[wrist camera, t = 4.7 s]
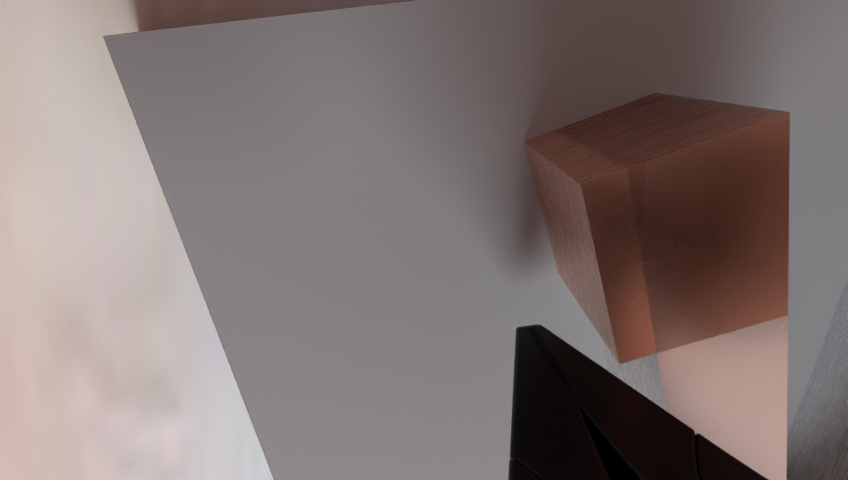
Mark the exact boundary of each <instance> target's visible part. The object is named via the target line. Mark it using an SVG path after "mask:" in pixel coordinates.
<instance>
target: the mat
mask: <svg viewBox="0 0 848 480" xmlns="http://www.w3.org/2000/svg"><path fill="white" fill-rule="evenodd" d="M103 37H104V40H105V42H106V45H107V47H108V50H109V53H110V55H111V58H112V60H113V63H114V66H115V68H116V71H117V73H118V76H119V79H120V81H121V84H122V86H123V89H124V92H125V94H126V97H127V99H128V102H129V105H130V107H131V110H132V112H133V115H134V118H135V120H136V123H137V125H138V128H139V130H140V133H141V136H142V138H143V141H144V143H145V146H146V149H147V151H148V154H149V156H150V159H151V162H152V164H153V167H154V169H155V172H156V175H157V177H158V180H159V182H160V185H161V188H162V190H163V193H164V195H165V198H166V201H167V203H168V206H169V208H170V211H171V214H172V216H173V219H174V221H175V224H176V227H177V229H178V232H179V234H180V237H181V240H182V242H183V245H184V247H185V250H186V252H187V255H188V258H189V260H190V263H191V265H192V268H193V271H194V273H195V276H196V278H197V281H198V284H199V286H200V289H201V291H202V294H203V297H204V299H205V302H206V304H207V307H208V310H209V312H210V315H211V317H212V320H213V323H214V325H215V328H216V330H217V333H218V336H219V338H220V341H221V343H222V346H223V349H224V351H225V354H226V356H227V359H228V362H229V364H230V367H231V369H232V372H233V375H234V377H235V380H236V382H237V385H238V387H239V390H240V393H241V395H242V398H243V400H244V403H245V406H246V408H247V411H248V413H249V416H250V419H251V421H252V424H253V426H254V429H255V432H256V434H257V437H258V439H259V442H260V445H261V447H262V450H263V452H264V455H265V458H266V460H267V463H268V465H269V468H270V471H271V473H272V476H273V478H274V480H508V473H509V461H510V437H511V417H512V396H513V376H514V355H515V335H516V328H517V327H521V326H528V325H535V324H540V325H542V326H544V327H545V328H547V329H548V330H550V331H551V332H552V333H554V334H555V335H557V336H558V337H560V338H561V339H563V340H564V341H565V342H567V343H568V344H570V345H571V346H573V347H574V348H576V349H577V350H579V351H580V352H581V353H583V354H584V355H586V356H587V357H589V358H590V359H592V360H593V361H595V362H596V363H597V364H599V365H600V366H602V367H603V368H605V369H606V370H608V366H607V361H606V357H605V353H604V349H603V344H602V340H601V336H600V335H599V333H598V332H597V330H596V329H595V327H594V326H593V324H592V323H591V321H590V320H589V318H588V317H587V315H586V314H585V312H584V311H583V309H582V308H581V306H580V305H579V303H578V302H577V301H576V299H575V298H574V296H573V295H572V293H571V292H570V290H569V289H568V287H567V286H566V284H565V283H564V281H563V280H562V278H561V277H560V275H559V274H558V270H557V267H556V263H555V259H554V255H553V251H552V248H551V244H550V240H549V236H548V233H547V229H546V225H545V221H544V218H543V214H542V210H541V206H540V202H539V199H538V195H537V191H536V187H535V184H534V180H533V176H532V172H531V169H530V165H529V161H528V157H527V153H526V150H525V146H524V142H523V141H526V140H529V139H531V138H534V137H537V136H540V135H542V134H545V133H548V132H550V131H553V130H556V129H559V128H561V127H564V126H567V125H569V124H572V123H575V122H578V121H580V120H583V119H586V118H588V117H591V116H594V115H596V114H599V113H602V112H605V111H607V110H610V109H613V108H615V107H618V106H621V105H624V104H626V103H629V102H632V101H634V100H637V99H640V98H643V97H645V96H648V95H651V94H653V93H661V94H668V95H675V96H682V97H689V98H696V99H703V100H710V101H717V102H724V103H731V104H738V105H745V106H752V107H759V108H766V109H773V110H780V111H787V112H790V164H789V270H788V376H787V436H788V434H789V431H790V428H791V426H792V423H793V421H794V418H795V415H796V413H797V410H798V408H799V405H800V402H801V400H802V397H803V394H804V392H805V389H806V387H807V384H808V381H809V379H810V376H811V374H812V371H813V368H814V366H815V363H816V360H817V358H818V355H819V353H820V350H821V347H822V345H823V342H824V340H825V337H826V334H827V332H828V329H829V327H830V324H831V321H832V319H833V316H834V313H835V311H836V308H837V306H838V303H839V300H840V298H841V295H842V293H843V290H844V287H845V285H846V282H847V279H848V0H413V1H404V2H395V3H386V4H378V5H369V6H360V7H352V8H343V9H334V10H325V11H317V12H308V13H299V14H291V15H282V16H273V17H264V18H256V19H247V20H238V21H230V22H221V23H212V24H203V25H195V26H186V27H177V28H169V29H160V30H151V31H142V32H134V33H125V34H116V35H107V36H103ZM608 371H609V370H608Z"/></svg>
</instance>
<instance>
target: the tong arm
mask: <svg viewBox="0 0 848 480" xmlns="http://www.w3.org/2000/svg"><path fill="white" fill-rule="evenodd" d="M523 142H524V146H525V150H526V153H527V157H528V161H529V165H530V169H531V172H532V176H533V180H534V184H535V187H536V191H537V195H538V199H539V202H540V206H541V210H542V214H543V218H544V221H545V225H546V229H547V233H548V236H549V240H550V244H551V248H552V251H553V255H554V259H555V263H556V267H557V270H558V274H559V275H560V277H561V278H562V280H563V281H564V283H565V284H566V286H567V287H568V289H569V290H570V292H571V293H572V295H573V296H574V298H575V299H576V301H577V302H578V303H579V305H580V306H581V308H582V309H583V311H584V312H585V314H586V315H587V317H588V318H589V320H590V321H591V323H592V324H593V326H594V327H595V329H596V330H597V332H598V333H599V335H600V336H601V340H602V344H603V349H604V353H605V357H606V361H607V366H608V370H609V372H611V373H612V374H613V375H615V376H616V377H618V378H619V379H621V380H622V381H624V382H625V383H627V384H628V385H629V386H631V387H632V388H634V389H635V390H637V391H638V392H640V393H641V394H643V395H644V396H645V397H647V398H648V399H650V400H651V401H653V402H654V403H656V404H657V405H658V406H660V407H661V408H663V409H664V410H666V411H667V412H669V413H670V414H672V415H673V416H674V417H676V418H677V419H679V420H680V421H682V422H683V423H685V424H686V425H688V426H689V427H690V428H692V429H693V430H694V431H695V434H697V433H699V434H701V435H702V436H704V437H705V438H707V439H708V440H710V441H711V442H713V443H714V444H715V445H717V446H718V447H720V448H721V449H723V450H724V451H726V452H727V453H729V454H730V455H732V456H733V457H735V458H736V459H738V460H739V461H741V462H742V463H744V464H745V465H747V466H748V467H750V468H751V469H753V470H755V471H756V472H758V473H759V474H761V475H762V476H764V477H765V478H767V479H769V480H787V376H788V270H789V164H790V112H787V111H780V110H773V109H766V108H759V107H752V106H745V105H738V104H731V103H724V102H717V101H710V100H703V99H696V98H689V97H682V96H675V95H668V94H661V93H653V94H651V95H648V96H645V97H643V98H640V99H637V100H634V101H632V102H629V103H626V104H624V105H621V106H618V107H615V108H613V109H610V110H607V111H605V112H602V113H599V114H596V115H594V116H591V117H588V118H586V119H583V120H580V121H578V122H575V123H572V124H569V125H567V126H564V127H561V128H559V129H556V130H553V131H550V132H548V133H545V134H542V135H540V136H537V137H534V138H531V139H529V140H526V141H523Z"/></svg>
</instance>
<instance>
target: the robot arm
mask: <svg viewBox="0 0 848 480" xmlns="http://www.w3.org/2000/svg"><path fill="white" fill-rule="evenodd" d="M508 480H769V479H767V478H765V477H764V476H762V475H761V474H759V473H758V472H756V471H755V470H753V469H751V468H750V467H748V466H747V465H745V464H744V463H742V462H741V461H739V460H738V459H736V458H735V457H733V456H732V455H730V454H729V453H727V452H726V451H724V450H723V449H721V448H720V447H718V446H717V445H715V444H714V443H713V442H711V441H710V440H708V439H707V438H705V437H704V436H702V435H701V434H699V433H697V434H695V431H694V430H693V429H692V428H690V427H689V426H688V425H686V424H685V423H683V422H682V421H680V420H679V419H677V418H676V417H674V416H673V415H672V414H670V413H669V412H667V411H666V410H664V409H663V408H661V407H660V406H658V405H657V404H656V403H654V402H653V401H651V400H650V399H648V398H647V397H645V396H644V395H643V394H641V393H640V392H638V391H637V390H635V389H634V388H632V387H631V386H629V385H628V384H627V383H625V382H624V381H622V380H621V379H619V378H618V377H616V376H615V375H613V374H612V373H611V372H609V371H608V370H606V369H605V368H603V367H602V366H600V365H599V364H597V363H596V362H595V361H593V360H592V359H590V358H589V357H587V356H586V355H584V354H583V353H581V352H580V351H579V350H577V349H576V348H574V347H573V346H571V345H570V344H568V343H567V342H565V341H564V340H563V339H561V338H560V337H558V336H557V335H555V334H554V333H552V332H551V331H550V330H548V329H547V328H545V327H544V326H542V325H540V324H535V325H528V326H521V327H517V328H516V335H515V355H514V376H513V396H512V417H511V437H510V461H509V473H508Z"/></svg>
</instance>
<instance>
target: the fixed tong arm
mask: <svg viewBox="0 0 848 480" xmlns="http://www.w3.org/2000/svg"><path fill="white" fill-rule="evenodd" d="M787 480H848V279H847V282H846V285H845V287H844V290H843V293H842V295H841V298H840V300H839V303H838V306H837V308H836V311H835V313H834V316H833V319H832V321H831V324H830V327H829V329H828V332H827V334H826V337H825V340H824V342H823V345H822V347H821V350H820V353H819V355H818V358H817V360H816V363H815V366H814V368H813V371H812V374H811V376H810V379H809V381H808V384H807V387H806V389H805V392H804V394H803V397H802V400H801V402H800V405H799V408H798V410H797V413H796V415H795V418H794V421H793V423H792V426H791V428H790V431H789V434H788V436H787Z"/></svg>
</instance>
